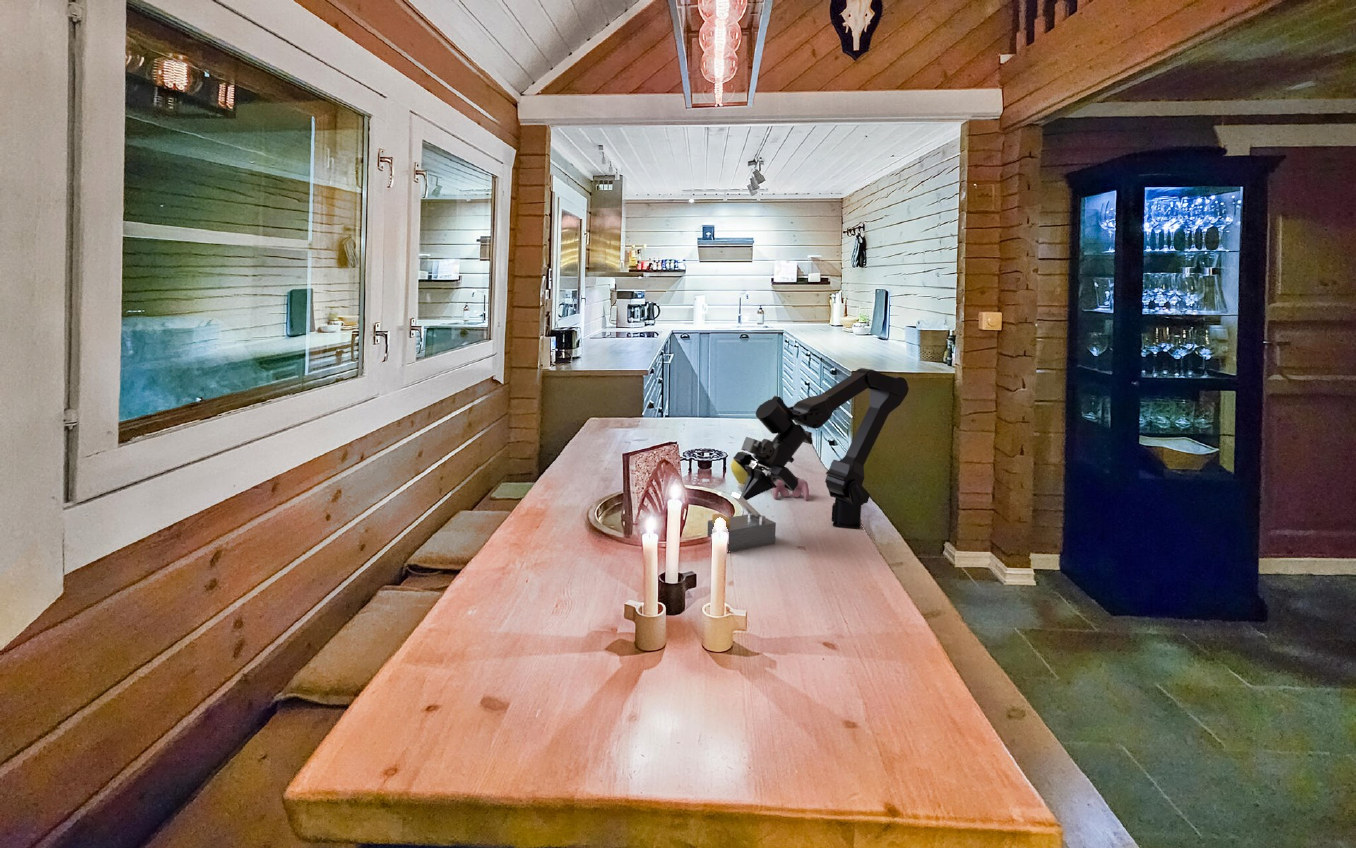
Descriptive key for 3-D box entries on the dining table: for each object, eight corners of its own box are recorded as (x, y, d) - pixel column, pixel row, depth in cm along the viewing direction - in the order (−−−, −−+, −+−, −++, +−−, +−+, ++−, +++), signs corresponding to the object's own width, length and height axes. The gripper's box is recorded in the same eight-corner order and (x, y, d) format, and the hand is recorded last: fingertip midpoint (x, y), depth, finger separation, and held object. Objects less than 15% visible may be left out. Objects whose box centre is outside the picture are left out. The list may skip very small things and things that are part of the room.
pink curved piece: (808, 503, 205) (808, 478, 207) (809, 500, 201) (809, 474, 203) (772, 501, 206) (772, 477, 208) (772, 498, 202) (773, 473, 203)
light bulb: (754, 493, 208) (755, 458, 206) (730, 493, 208) (731, 458, 206) (752, 487, 215) (753, 453, 213) (729, 486, 215) (730, 453, 213)
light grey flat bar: (752, 517, 170) (755, 513, 170) (760, 520, 167) (762, 517, 167) (731, 495, 166) (733, 491, 166) (738, 498, 163) (741, 495, 163)
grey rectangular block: (755, 533, 174) (756, 504, 173) (775, 544, 167) (776, 514, 166) (707, 541, 168) (708, 512, 167) (726, 553, 161) (726, 522, 160)
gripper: (740, 417, 173) (699, 468, 170) (788, 431, 157) (744, 488, 154) (767, 446, 178) (728, 497, 175) (817, 463, 162) (774, 519, 159)
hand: (742, 499), depth 166 cm, fingers closed, pressing on light grey flat bar
